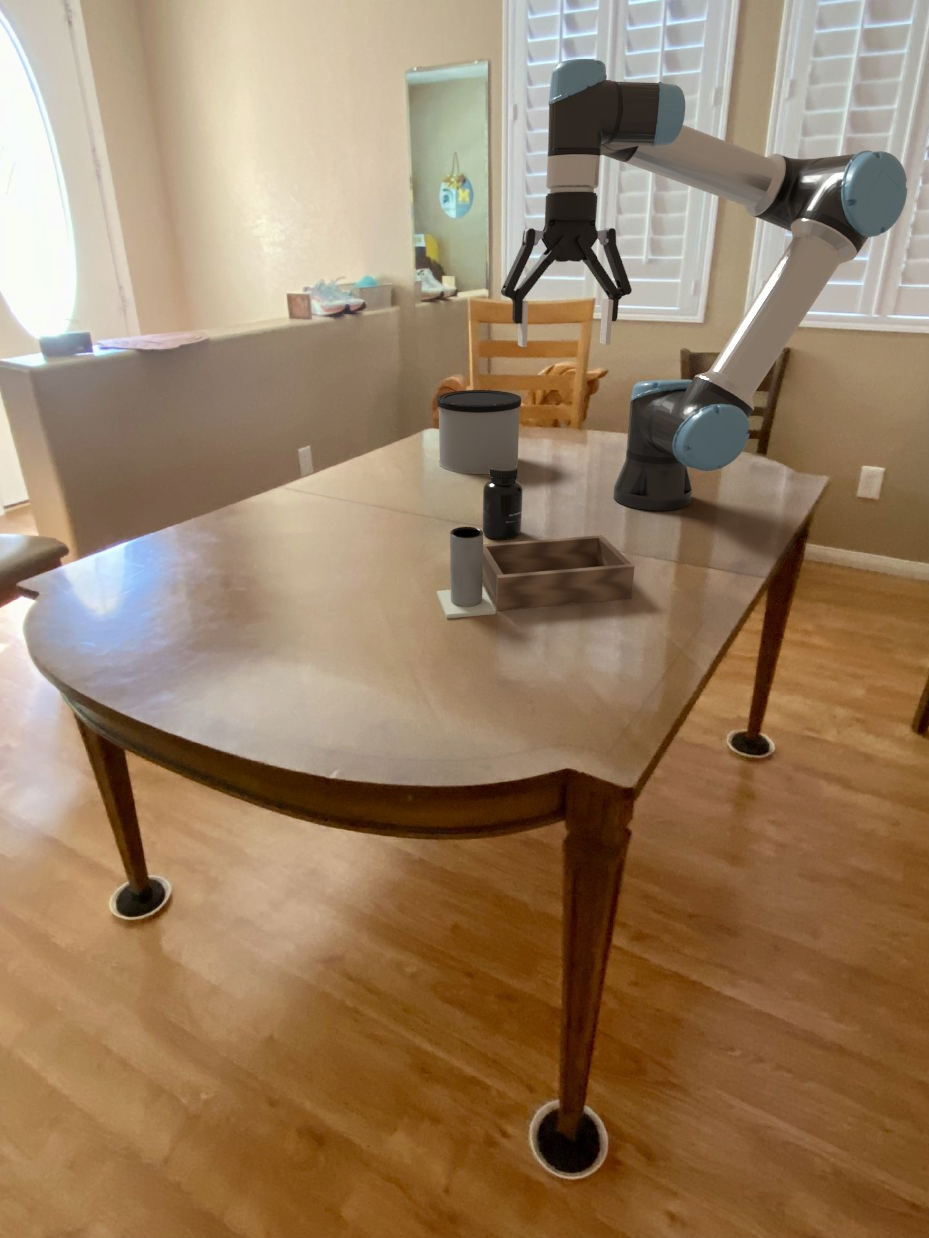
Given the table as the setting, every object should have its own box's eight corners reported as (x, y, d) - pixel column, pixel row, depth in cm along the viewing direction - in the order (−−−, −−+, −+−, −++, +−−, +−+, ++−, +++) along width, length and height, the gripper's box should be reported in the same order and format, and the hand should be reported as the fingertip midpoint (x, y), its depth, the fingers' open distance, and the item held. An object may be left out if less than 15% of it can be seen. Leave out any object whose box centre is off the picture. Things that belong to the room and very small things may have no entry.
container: (521, 474, 169) (523, 405, 162) (436, 474, 169) (435, 405, 162) (517, 452, 186) (519, 389, 179) (439, 452, 186) (438, 389, 179)
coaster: (483, 590, 114) (483, 586, 113) (495, 613, 107) (495, 610, 106) (436, 594, 112) (436, 590, 112) (446, 618, 105) (446, 614, 105)
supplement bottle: (518, 542, 132) (520, 473, 126) (479, 539, 133) (479, 471, 127) (523, 528, 138) (525, 463, 132) (486, 526, 139) (487, 461, 133)
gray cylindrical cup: (486, 595, 111) (487, 528, 106) (476, 608, 107) (477, 539, 102) (456, 591, 112) (456, 524, 107) (446, 604, 108) (445, 535, 103)
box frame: (599, 564, 122) (602, 535, 120) (631, 598, 111) (634, 566, 109) (478, 574, 119) (478, 544, 117) (497, 610, 108) (498, 578, 105)
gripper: (641, 193, 117) (629, 339, 126) (482, 192, 112) (481, 344, 122) (662, 190, 110) (647, 345, 120) (494, 189, 106) (492, 350, 115)
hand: (563, 345), depth 121 cm, fingers open, 13 cm apart
